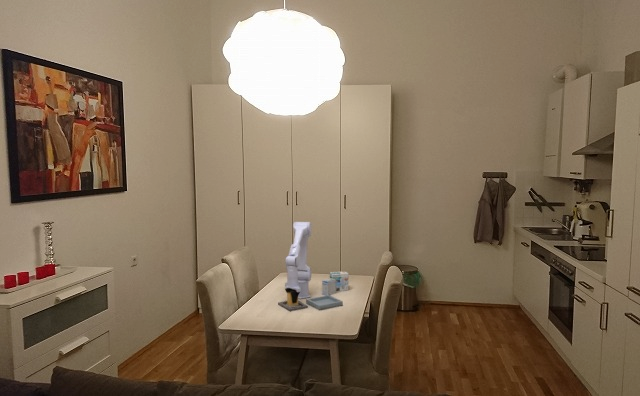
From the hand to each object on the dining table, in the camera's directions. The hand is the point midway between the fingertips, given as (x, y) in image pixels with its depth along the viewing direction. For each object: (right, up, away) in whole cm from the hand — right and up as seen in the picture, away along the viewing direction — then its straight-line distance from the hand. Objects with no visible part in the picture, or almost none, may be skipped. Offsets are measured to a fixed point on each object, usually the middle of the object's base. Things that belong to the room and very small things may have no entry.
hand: (292, 301), depth 245 cm
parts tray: (+17, -2, +3) cm, 18 cm away
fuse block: (0, -2, 0) cm, 2 cm away
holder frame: (0, -2, 0) cm, 2 cm away
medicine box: (+20, -1, +23) cm, 31 cm away
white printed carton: (+27, 0, +32) cm, 42 cm away
